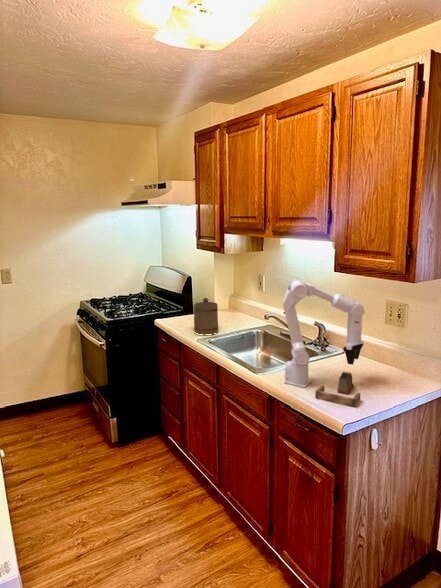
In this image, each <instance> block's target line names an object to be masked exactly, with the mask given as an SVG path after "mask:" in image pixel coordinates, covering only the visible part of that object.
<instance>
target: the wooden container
mask: <svg viewBox="0 0 441 588" xmlns="http://www.w3.org/2000/svg"><path fill="white" fill-rule="evenodd" d="M218 309H219V308H218V303H216V302H213V301H212V302H211V301H209V298H207V297H205V298H203V299H202V301H201V302H197V303H194V305H193V327H194V328H193V331H195V332H196V333H198V334H214V333H217V332H218V333H219V318H218V316H219V315H218V313H219V311H218ZM218 333H217V334H218Z"/></svg>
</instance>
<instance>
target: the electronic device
mask: <svg viewBox="0 0 441 588" xmlns="http://www.w3.org/2000/svg"><path fill="white" fill-rule="evenodd" d="M341 372H342V373H341V375H340V376H339V378H338V379H339V380H338V384H337V385H338V387H337V393H338V394H344V395H348V396H349V394H350V393H351V391H352V389H353V388H354V387H355V383H353V375H352V372H350V371H341Z"/></svg>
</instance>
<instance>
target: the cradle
mask: <svg viewBox="0 0 441 588" xmlns="http://www.w3.org/2000/svg"><path fill="white" fill-rule="evenodd" d="M325 387H326V386H325V385H324V384H321V385H320V386H318V388H317V389H316V390H315V397H314V399H315V400H321V401H326V402H329V403H334V404H338V405H342V406H346V407H351V408H356V407H357V406H358V405H359V403H360V401H361V393H360V392H356V394H355V395H354V396H353V397H348V396H345V395H340V394H336V393H330V392H327V391H325Z"/></svg>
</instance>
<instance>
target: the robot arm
mask: <svg viewBox="0 0 441 588" xmlns="http://www.w3.org/2000/svg"><path fill="white" fill-rule="evenodd" d="M285 291H286V292H285V294H284V297H283V300H282V306H283V307H282V308H283V311H284V315H285V319H286V320H285V321H286V323H287V328H288V332H289V338H290V342H291V350H290V353H291V356H292V359H291V360H287V362H286V363H285V367H284V382H283V383H284V384H287V385H291V386H292V385H293V386H296V387H300V388H306V387H307V386H308V385H309V384H310V383H312V379H309V361H310V356H309V353H308V352H307V351H306V347H305V344H304V341H303V336H302V332H301V327H300V324H299V319H298V315H297V310H296V305H297V304H298V303H299V301H301V300H303V299H304V298H306V297H312V296H315V297H318V298H319V299H322V300H325V301H327V302H330V305H331V307H333V308H335V309H338V310H339V311H341V312H344V313H347V326H346V327H347V328H346V343H345V344H346V345H345V346H343V349H342V350H343V352H344V354H345V357H346V363H347V365H354V363H355V360H358V359H359V357H360V355H361V354H360V353H361V350H362V348H363V346H364V345H365V341H363V340H362V328H363V316H364V314H365V311H366V310H365V309H364V306H363V305H362V304H361V303H359V302H357V301H356V300H355V299H352V298H351V299H350V298H348V297H346V296H345V295H344V294H343V293H335V294H332V293H330V292H328V291H326V290H324V289H322V288H320V287H318V286H316V285H313V284H311V283H309V282H307V281H306V282H305V281H304V282H303V281H302V280H299V279H295V280H293V281H291V282H290V284H289V285H288V286H287V288H286V290H285Z"/></svg>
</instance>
